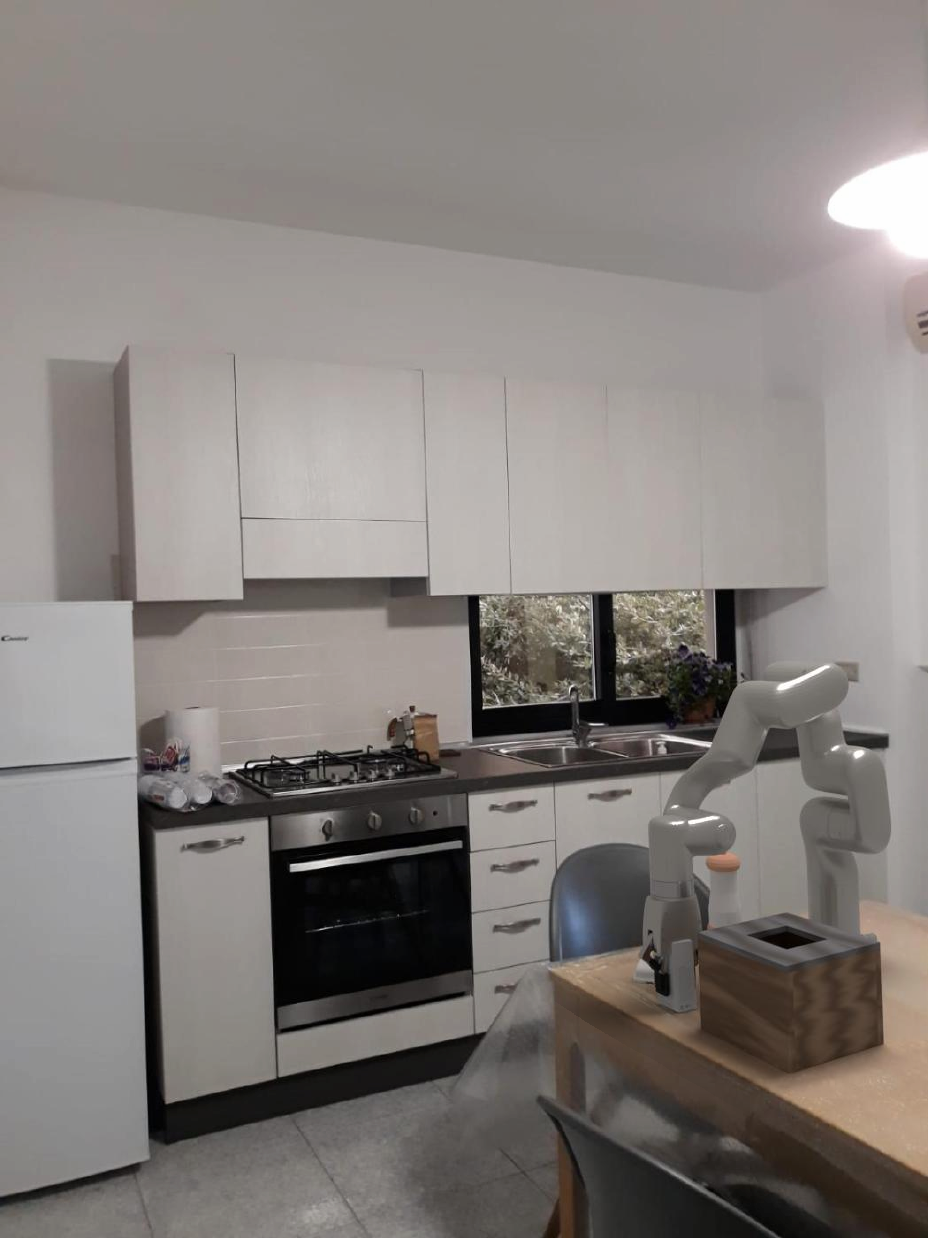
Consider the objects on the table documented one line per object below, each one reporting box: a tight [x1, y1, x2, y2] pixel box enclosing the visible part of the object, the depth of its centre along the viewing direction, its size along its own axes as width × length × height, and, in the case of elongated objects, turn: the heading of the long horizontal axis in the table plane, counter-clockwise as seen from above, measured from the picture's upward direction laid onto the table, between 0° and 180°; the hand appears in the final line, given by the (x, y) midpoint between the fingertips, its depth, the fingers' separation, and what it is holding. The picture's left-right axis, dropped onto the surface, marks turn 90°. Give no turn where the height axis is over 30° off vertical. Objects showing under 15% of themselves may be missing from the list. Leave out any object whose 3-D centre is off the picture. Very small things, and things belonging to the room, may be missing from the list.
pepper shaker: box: [705, 851, 742, 930], centre depth 218 cm, size 7×7×19 cm
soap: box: [632, 956, 655, 985], centre depth 200 cm, size 9×7×3 cm
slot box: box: [697, 912, 885, 1074], centre depth 170 cm, size 20×20×16 cm
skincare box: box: [657, 940, 697, 1013], centre depth 184 cm, size 6×4×12 cm
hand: (675, 989), depth 184 cm, fingers open, 5 cm apart
